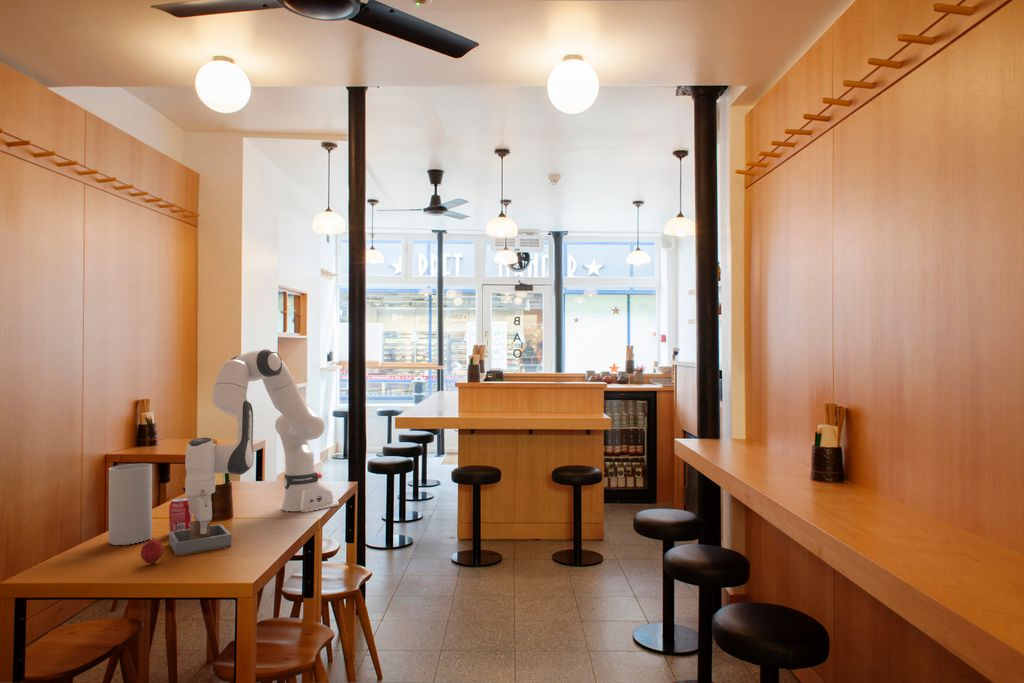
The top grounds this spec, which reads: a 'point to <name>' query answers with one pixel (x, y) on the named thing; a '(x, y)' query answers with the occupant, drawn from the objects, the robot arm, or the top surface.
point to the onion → (151, 551)
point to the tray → (199, 540)
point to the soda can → (179, 514)
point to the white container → (130, 504)
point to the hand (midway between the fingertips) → (200, 530)
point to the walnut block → (198, 530)
